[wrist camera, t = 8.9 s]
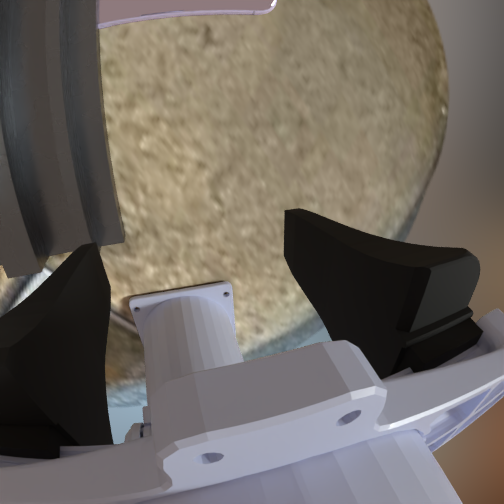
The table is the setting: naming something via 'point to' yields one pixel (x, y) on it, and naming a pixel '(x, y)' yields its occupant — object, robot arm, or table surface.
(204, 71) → the table surface
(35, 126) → the charcoal rack
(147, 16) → the mobile phone
